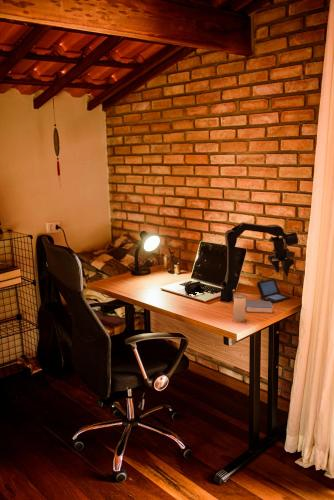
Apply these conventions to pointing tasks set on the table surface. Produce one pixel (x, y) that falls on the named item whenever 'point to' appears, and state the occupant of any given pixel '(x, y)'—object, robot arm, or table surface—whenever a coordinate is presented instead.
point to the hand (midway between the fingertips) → (282, 274)
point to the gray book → (258, 306)
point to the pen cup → (239, 307)
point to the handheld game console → (271, 291)
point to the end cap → (194, 288)
